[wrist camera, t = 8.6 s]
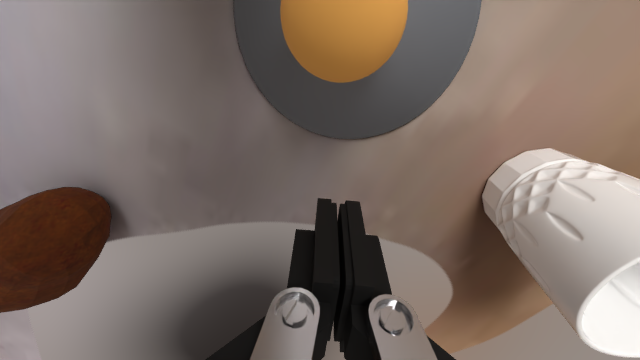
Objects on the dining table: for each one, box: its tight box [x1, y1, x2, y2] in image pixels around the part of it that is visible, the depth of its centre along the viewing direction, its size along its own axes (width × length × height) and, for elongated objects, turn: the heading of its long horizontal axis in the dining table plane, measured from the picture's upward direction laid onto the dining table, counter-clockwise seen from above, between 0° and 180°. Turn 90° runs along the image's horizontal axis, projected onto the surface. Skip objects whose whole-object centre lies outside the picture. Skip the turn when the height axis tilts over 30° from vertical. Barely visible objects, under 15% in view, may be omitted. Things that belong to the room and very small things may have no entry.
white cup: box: [482, 148, 640, 358], centre depth 16 cm, size 8×8×10 cm
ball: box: [280, 0, 408, 83], centre depth 13 cm, size 6×6×6 cm
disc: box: [234, 0, 481, 139], centre depth 16 cm, size 14×14×1 cm
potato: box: [0, 187, 111, 313], centre depth 20 cm, size 8×12×8 cm, turn 128°
